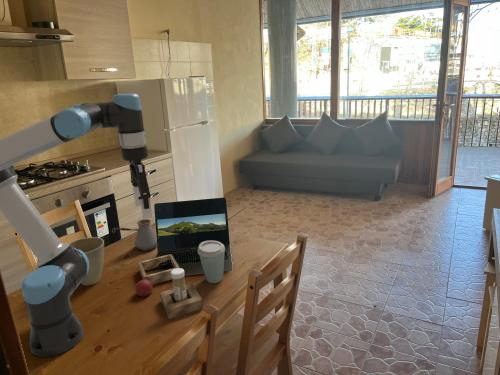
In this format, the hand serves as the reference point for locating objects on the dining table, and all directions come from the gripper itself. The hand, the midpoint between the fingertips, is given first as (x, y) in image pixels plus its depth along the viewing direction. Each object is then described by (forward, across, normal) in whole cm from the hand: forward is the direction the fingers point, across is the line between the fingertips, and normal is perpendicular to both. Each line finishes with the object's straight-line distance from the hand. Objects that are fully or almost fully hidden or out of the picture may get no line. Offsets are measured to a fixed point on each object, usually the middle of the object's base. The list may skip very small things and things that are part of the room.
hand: (143, 211), depth 124 cm
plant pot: (+37, +34, +20) cm, 54 cm away
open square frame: (+37, +25, -6) cm, 45 cm away
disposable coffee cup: (+37, +9, -24) cm, 45 cm away
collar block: (+37, -1, -8) cm, 38 cm away
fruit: (+37, +12, +2) cm, 39 cm away
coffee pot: (+37, +52, -2) cm, 64 cm away
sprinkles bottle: (+37, -1, -8) cm, 38 cm away
